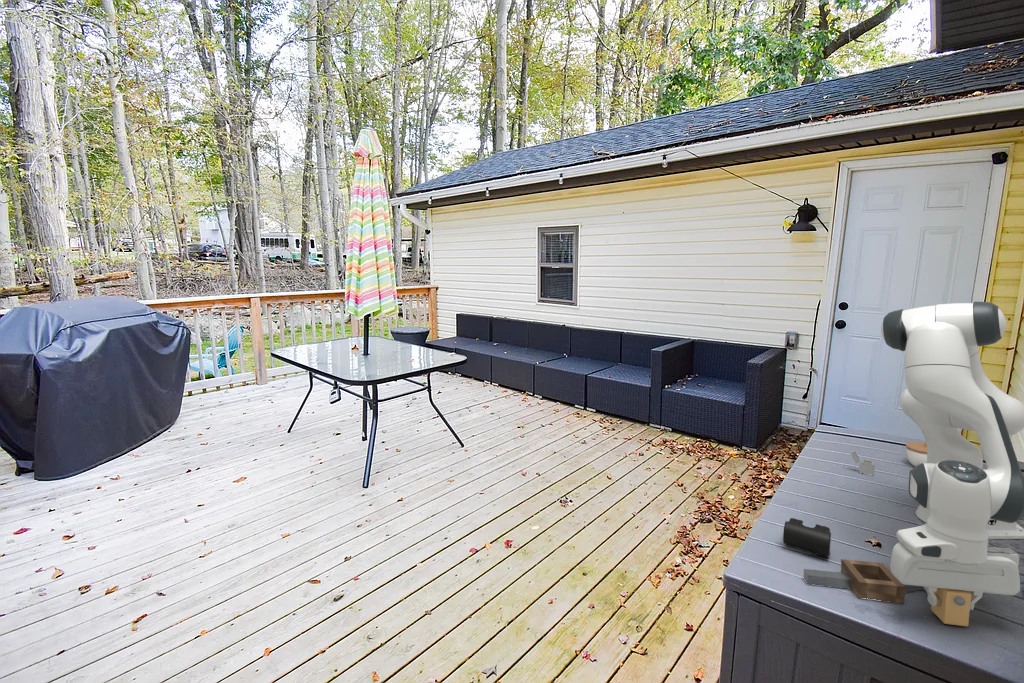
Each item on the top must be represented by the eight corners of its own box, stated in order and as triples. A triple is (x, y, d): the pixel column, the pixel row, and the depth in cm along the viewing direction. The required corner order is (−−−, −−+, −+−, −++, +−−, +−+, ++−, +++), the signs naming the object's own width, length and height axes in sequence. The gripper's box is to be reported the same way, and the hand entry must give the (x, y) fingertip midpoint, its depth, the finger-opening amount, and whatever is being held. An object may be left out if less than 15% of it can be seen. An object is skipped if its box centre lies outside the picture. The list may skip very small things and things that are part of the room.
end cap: (782, 549, 118) (783, 525, 117) (786, 537, 123) (787, 514, 122) (828, 563, 111) (829, 538, 111) (831, 550, 117) (832, 526, 116)
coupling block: (951, 610, 94) (954, 579, 93) (970, 628, 89) (973, 596, 88) (929, 607, 95) (931, 577, 94) (946, 625, 90) (949, 593, 89)
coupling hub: (881, 578, 105) (882, 563, 104) (903, 603, 97) (905, 586, 96) (840, 574, 107) (841, 559, 107) (858, 598, 99) (859, 582, 98)
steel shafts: (924, 581, 103) (924, 572, 103) (942, 599, 98) (943, 589, 97) (797, 568, 110) (797, 559, 110) (807, 584, 104) (807, 575, 104)
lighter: (873, 474, 160) (875, 453, 159) (873, 476, 158) (875, 454, 157) (849, 469, 164) (850, 449, 163) (848, 471, 163) (850, 450, 162)
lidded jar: (902, 459, 172) (904, 436, 171) (941, 465, 165) (943, 440, 164) (906, 469, 163) (908, 444, 162) (946, 475, 157) (948, 449, 156)
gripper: (1006, 539, 90) (999, 601, 92) (888, 530, 95) (884, 589, 97) (1033, 557, 84) (1026, 624, 86) (906, 547, 89) (901, 610, 91)
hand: (950, 605), depth 91 cm, fingers closed on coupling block, 4 cm apart
